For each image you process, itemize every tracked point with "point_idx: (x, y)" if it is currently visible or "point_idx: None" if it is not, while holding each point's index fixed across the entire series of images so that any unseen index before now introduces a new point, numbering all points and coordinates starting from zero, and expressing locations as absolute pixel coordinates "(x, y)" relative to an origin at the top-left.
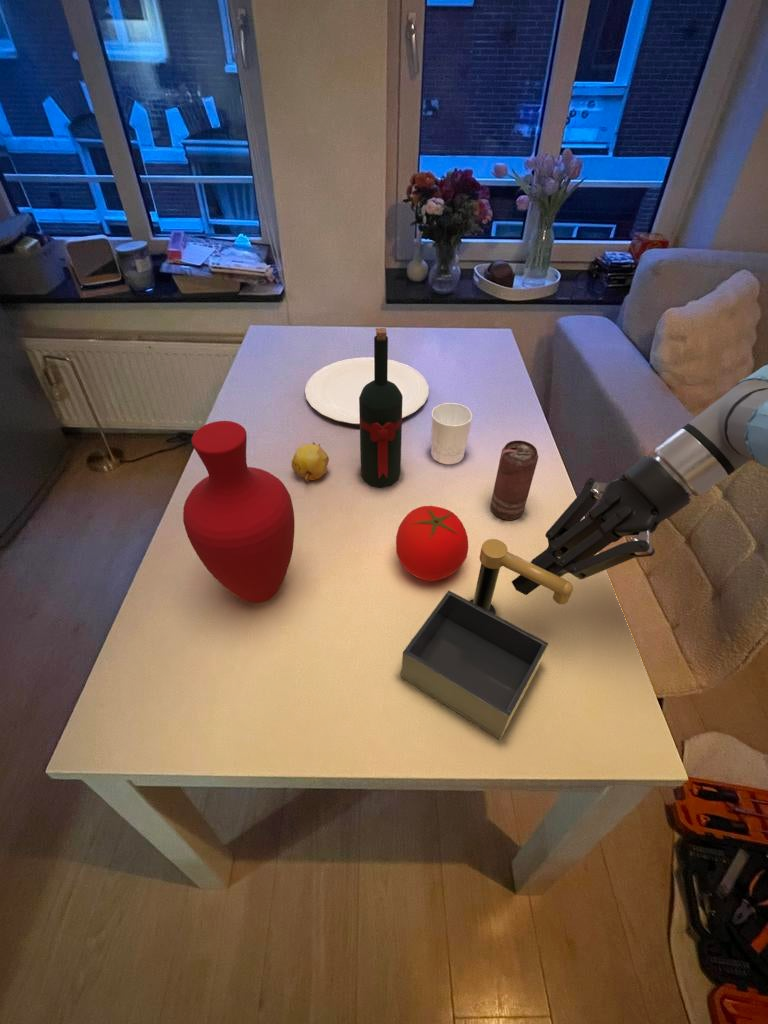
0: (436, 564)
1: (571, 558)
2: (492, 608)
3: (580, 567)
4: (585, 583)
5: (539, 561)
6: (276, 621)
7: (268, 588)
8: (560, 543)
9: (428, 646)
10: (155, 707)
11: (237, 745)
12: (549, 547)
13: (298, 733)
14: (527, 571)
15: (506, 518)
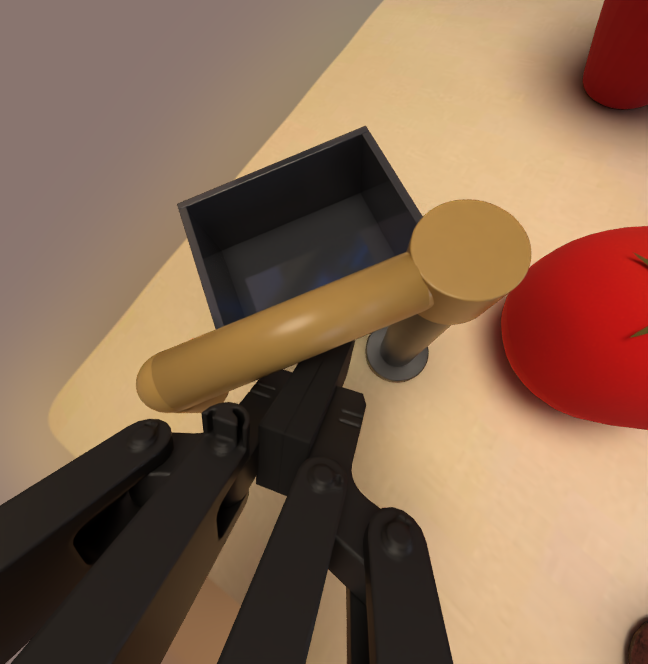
0: (534, 277)
1: (173, 480)
2: (390, 375)
3: (94, 463)
4: (341, 631)
5: (325, 396)
6: (536, 91)
7: (606, 19)
8: (292, 526)
9: (382, 239)
10: None
11: (386, 29)
12: (335, 470)
13: (364, 76)
14: (300, 295)
15: (640, 635)
